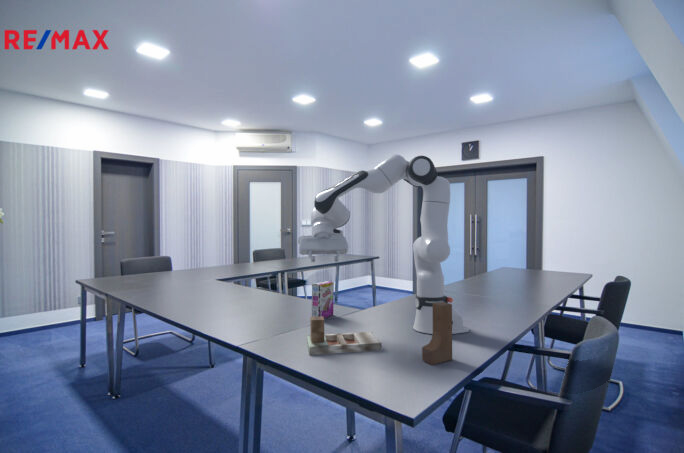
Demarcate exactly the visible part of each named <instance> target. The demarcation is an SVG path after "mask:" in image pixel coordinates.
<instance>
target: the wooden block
mask: <svg viewBox="0 0 684 453" xmlns="http://www.w3.org/2000/svg"><path fill="white" fill-rule="evenodd" d="M452 308H453V305H452V304H451V303H450V302H448V303H445V302H437V303H433V334H431V339H430V341H429V343H428V344H426V345H423V346H421V347H422V348H421V359H422V362H425V363H427V365H431V366H432V365H437V364H441V363H445V362H449V361H452V360H453V334H452Z"/></svg>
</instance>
